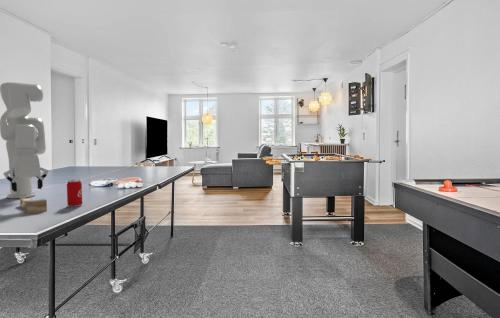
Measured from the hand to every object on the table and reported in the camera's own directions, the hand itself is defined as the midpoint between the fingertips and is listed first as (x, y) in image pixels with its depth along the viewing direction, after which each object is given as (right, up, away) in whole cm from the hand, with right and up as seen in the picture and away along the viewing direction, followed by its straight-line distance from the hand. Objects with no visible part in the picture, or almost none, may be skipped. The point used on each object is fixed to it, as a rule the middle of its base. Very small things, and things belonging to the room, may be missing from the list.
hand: (27, 190), depth 151 cm
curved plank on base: (+2, -9, -1) cm, 9 cm away
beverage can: (+18, -8, +6) cm, 21 cm away
